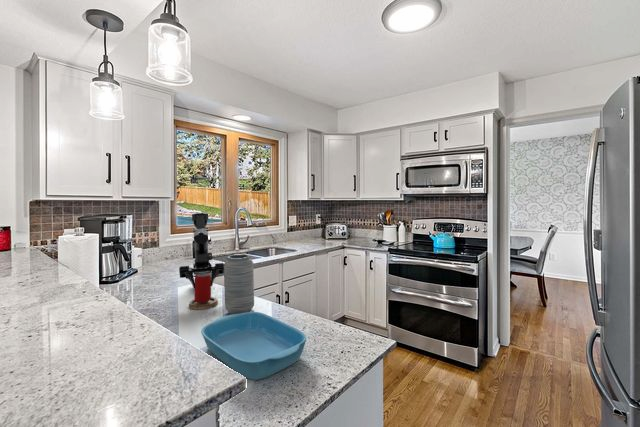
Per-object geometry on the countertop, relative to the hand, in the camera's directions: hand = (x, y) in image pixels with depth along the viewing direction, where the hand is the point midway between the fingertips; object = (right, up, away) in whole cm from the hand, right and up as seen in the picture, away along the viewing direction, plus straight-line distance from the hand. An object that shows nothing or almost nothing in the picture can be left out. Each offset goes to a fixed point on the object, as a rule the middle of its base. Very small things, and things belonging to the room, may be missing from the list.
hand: (202, 286), depth 134 cm
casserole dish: (+30, -11, -40) cm, 52 cm away
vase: (+18, -9, -7) cm, 21 cm away
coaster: (0, -8, +2) cm, 8 cm away
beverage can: (-1, -7, +2) cm, 7 cm away
